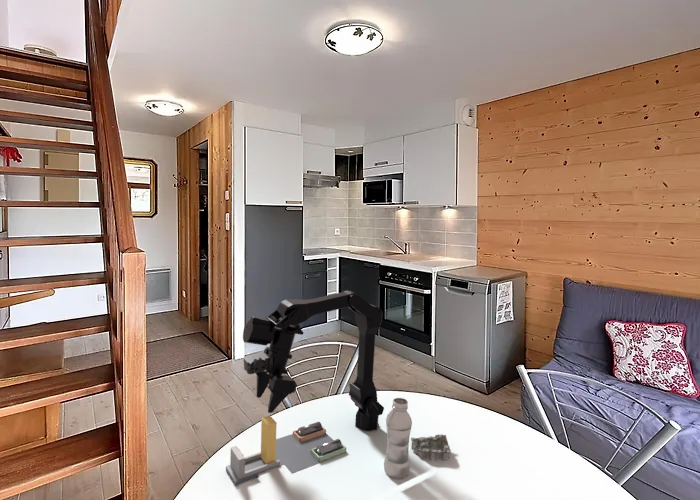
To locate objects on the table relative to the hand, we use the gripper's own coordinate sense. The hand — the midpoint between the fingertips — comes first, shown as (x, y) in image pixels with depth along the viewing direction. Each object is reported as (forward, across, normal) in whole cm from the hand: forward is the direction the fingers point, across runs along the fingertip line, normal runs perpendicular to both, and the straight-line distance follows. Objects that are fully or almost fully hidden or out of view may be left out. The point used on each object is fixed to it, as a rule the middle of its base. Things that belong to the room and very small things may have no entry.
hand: (263, 404), depth 106 cm
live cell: (+9, +7, +20) cm, 23 cm away
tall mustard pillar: (+13, +3, +4) cm, 14 cm away
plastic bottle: (+7, +22, +32) cm, 39 cm away
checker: (+13, +2, +9) cm, 16 cm away
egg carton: (+4, +18, +46) cm, 49 cm away
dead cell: (+10, -4, +19) cm, 22 cm away
